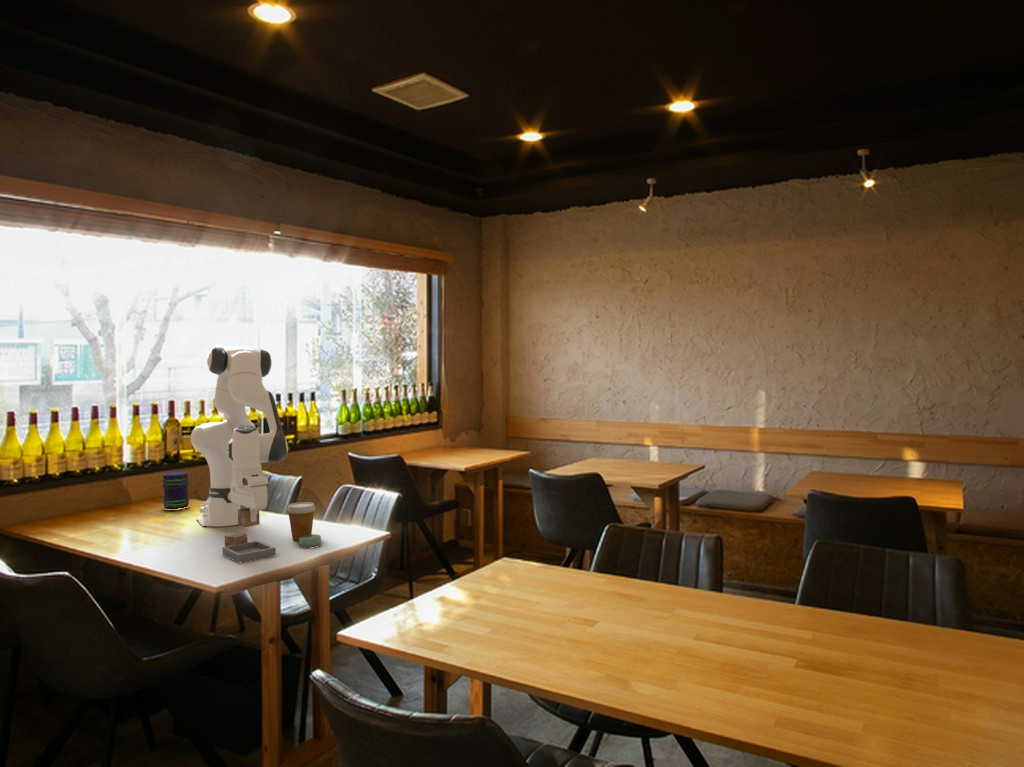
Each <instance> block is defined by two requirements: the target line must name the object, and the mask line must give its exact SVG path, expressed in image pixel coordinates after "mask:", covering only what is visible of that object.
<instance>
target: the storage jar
mask: <svg viewBox="0 0 1024 767" xmlns="http://www.w3.org/2000/svg"><path fill="white" fill-rule="evenodd" d="M189 484H190V483H189V472H188V471H180V470H176V471H168V472H164V473H162V487H163V497H162V498H163V509H164V508H166V509H178V508H184V507H187V506H188V505H189V504H190V494H189ZM189 506H190V505H189Z"/></svg>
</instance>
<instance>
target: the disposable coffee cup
mask: <svg viewBox="0 0 1024 767" xmlns="http://www.w3.org/2000/svg"><path fill="white" fill-rule="evenodd" d="M315 509H316V507H315V504H314V503H313V502H307V501H305V502H294V503H290V504H288V506H287V509H286V511H287V513H288V518H289V526H290V532H291V536H292V541H294V540H297V541H296V542H299V538H300V537H301V536H304V535H312V534H313V533H312V532H313V524H314V515H315V514H314V513H315Z"/></svg>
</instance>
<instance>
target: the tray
mask: <svg viewBox="0 0 1024 767" xmlns="http://www.w3.org/2000/svg"><path fill="white" fill-rule="evenodd" d="M221 548H222V550H221V551H222V554H223V555H222V554H221V555H222V556H224V555H225V556H224V557H226V556H227V557H226V558H228V557H229V558H228V559H230V558H231V559H230V560H232V559H233V560H232V561H234V562H236V561H237V562H236V563H238V562H239V563H238V564H241V563H240V562H242V563H246V562H245V561H247V562H251V561H250V560H252V561H256V560H255V559H257V560H261V558H262V559H265V557H266V558H270V557H269V556H271V557H274V556H273V555H277V554H276V552H277V551H276V547H274V546H272V545H270V544H268V543H265V542H262V541H261V540H252V541H249V542H248V541H247V543H242V544H237V545H232V546H226V547H225V546H223V547H221Z"/></svg>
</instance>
